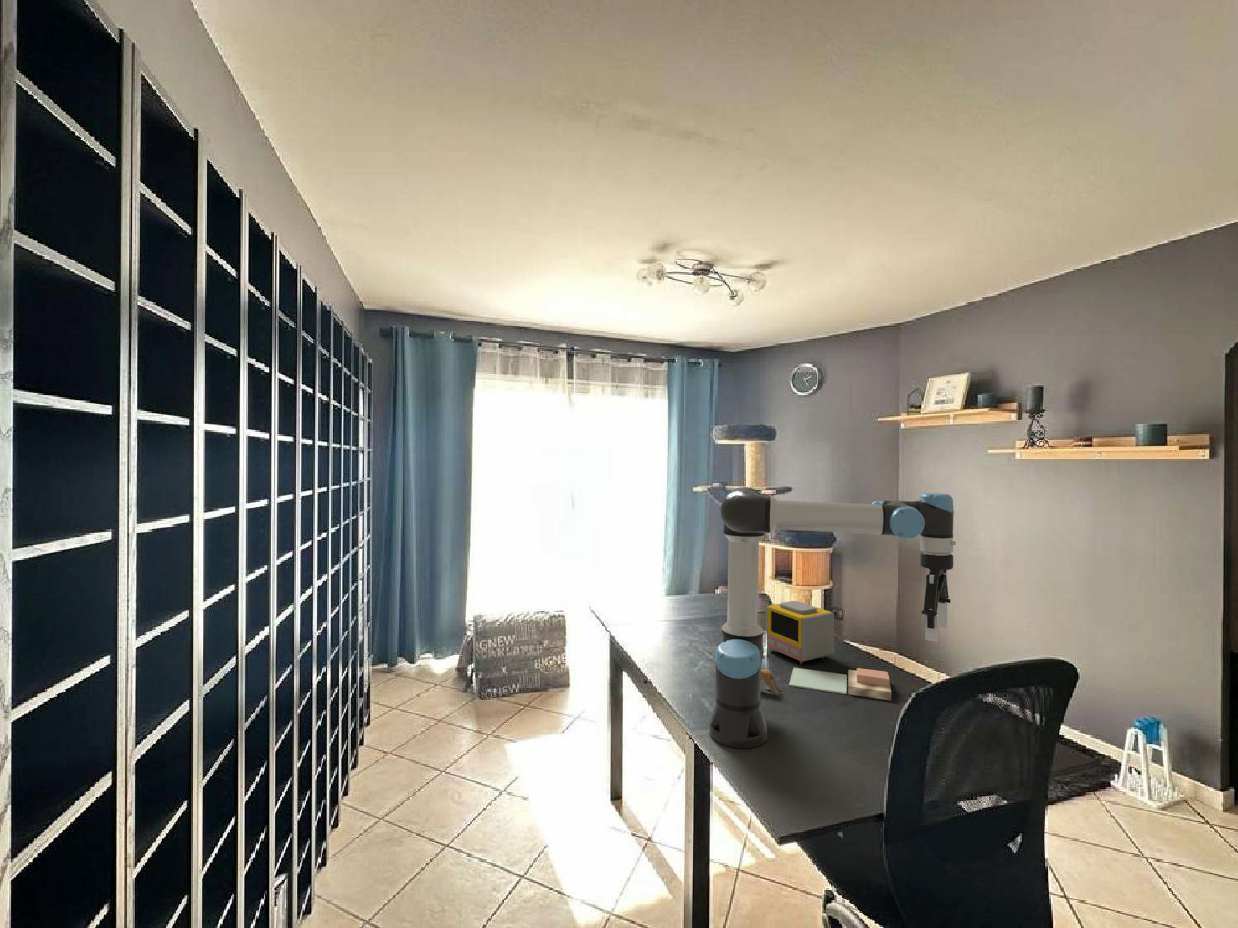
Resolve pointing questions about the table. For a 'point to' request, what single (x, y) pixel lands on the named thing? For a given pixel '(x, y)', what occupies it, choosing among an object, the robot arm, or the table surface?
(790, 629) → the alarm clock
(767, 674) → the lion figurine
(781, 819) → the table surface
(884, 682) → the block
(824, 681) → the mat
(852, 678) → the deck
